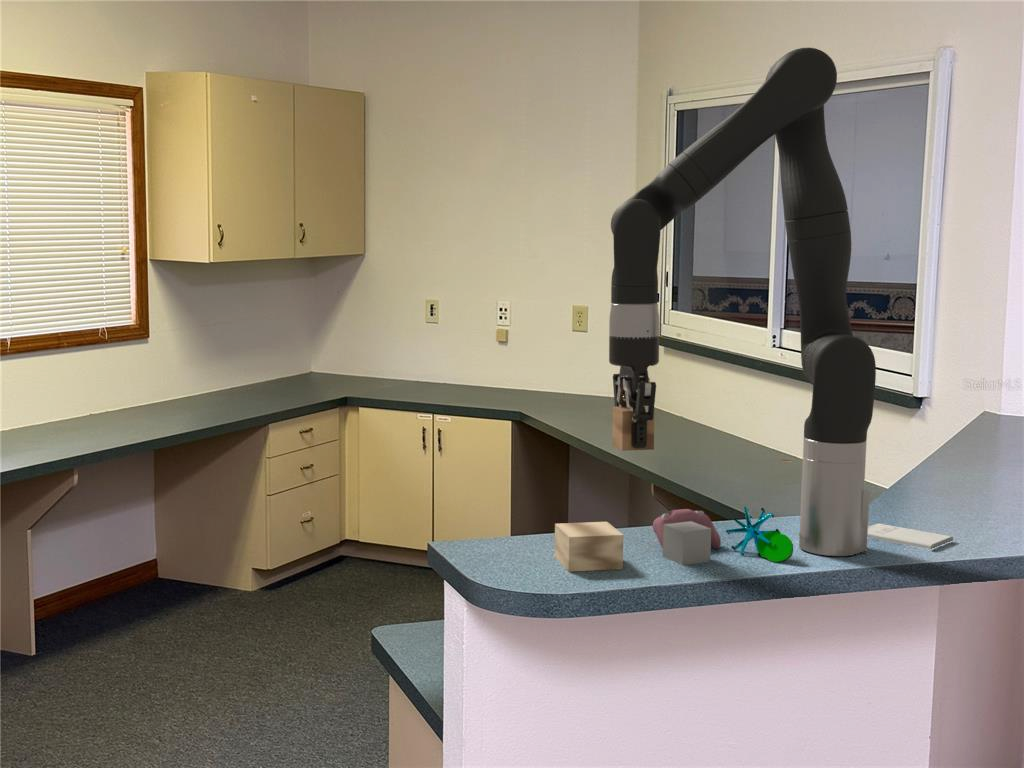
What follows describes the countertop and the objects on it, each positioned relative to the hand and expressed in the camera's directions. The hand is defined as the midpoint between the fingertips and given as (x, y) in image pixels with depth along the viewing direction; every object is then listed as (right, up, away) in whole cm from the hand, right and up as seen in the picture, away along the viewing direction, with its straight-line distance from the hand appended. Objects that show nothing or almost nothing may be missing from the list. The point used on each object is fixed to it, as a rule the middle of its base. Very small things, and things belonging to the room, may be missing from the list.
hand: (633, 443), depth 170 cm
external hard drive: (+44, -16, +8) cm, 48 cm away
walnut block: (0, 0, 0) cm, 0 cm away
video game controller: (+8, -16, +1) cm, 18 cm away
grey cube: (+7, -17, -5) cm, 19 cm away
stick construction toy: (+20, -17, -1) cm, 26 cm away
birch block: (-7, -17, -8) cm, 20 cm away
